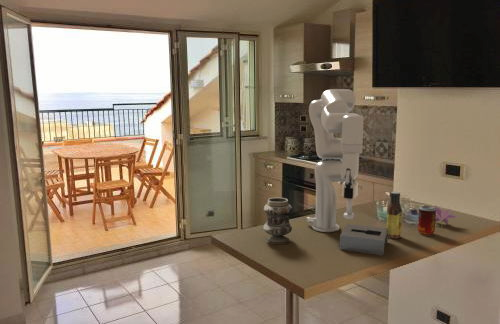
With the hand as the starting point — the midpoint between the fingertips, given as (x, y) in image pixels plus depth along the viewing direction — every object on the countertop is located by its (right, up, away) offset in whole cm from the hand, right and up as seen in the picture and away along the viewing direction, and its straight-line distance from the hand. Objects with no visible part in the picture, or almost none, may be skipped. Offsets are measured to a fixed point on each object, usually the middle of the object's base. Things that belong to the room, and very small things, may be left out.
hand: (349, 196), depth 162 cm
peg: (0, -8, +1) cm, 8 cm away
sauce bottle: (+25, -20, +27) cm, 42 cm away
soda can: (+41, -19, +31) cm, 55 cm away
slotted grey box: (+10, -22, +16) cm, 29 cm away
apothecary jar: (-26, -21, +22) cm, 40 cm away
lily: (+53, -18, +42) cm, 70 cm away
